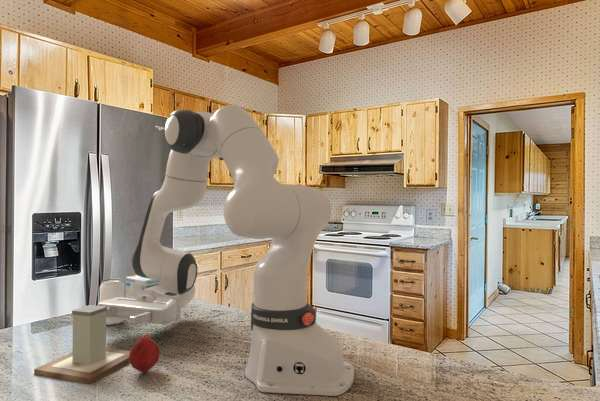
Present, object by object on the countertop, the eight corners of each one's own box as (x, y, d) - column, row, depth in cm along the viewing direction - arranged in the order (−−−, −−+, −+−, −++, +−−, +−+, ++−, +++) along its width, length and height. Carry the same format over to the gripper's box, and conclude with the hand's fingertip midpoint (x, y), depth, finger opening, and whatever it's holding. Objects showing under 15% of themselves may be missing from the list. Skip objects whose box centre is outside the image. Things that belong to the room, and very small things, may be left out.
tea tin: (106, 357, 88) (106, 306, 88) (89, 365, 84) (90, 312, 84) (89, 354, 90) (89, 304, 90) (71, 362, 85) (72, 310, 85)
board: (138, 356, 91) (138, 351, 91) (90, 383, 78) (90, 378, 78) (88, 349, 95) (88, 344, 95) (34, 374, 82) (34, 368, 82)
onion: (141, 381, 79) (141, 340, 79) (123, 374, 82) (123, 335, 82) (165, 371, 84) (165, 332, 84) (147, 364, 87) (147, 327, 87)
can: (114, 326, 113) (114, 283, 112) (94, 324, 114) (94, 282, 114) (128, 319, 119) (129, 278, 119) (109, 318, 120) (109, 277, 120)
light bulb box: (164, 310, 129) (164, 277, 128) (146, 316, 123) (146, 280, 123) (142, 305, 134) (143, 273, 134) (124, 310, 129) (124, 276, 129)
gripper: (119, 289, 110) (78, 301, 97) (185, 295, 104) (152, 309, 91) (119, 312, 110) (78, 328, 97) (185, 319, 105) (151, 337, 91)
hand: (114, 319), depth 94 cm, fingers open, 8 cm apart
